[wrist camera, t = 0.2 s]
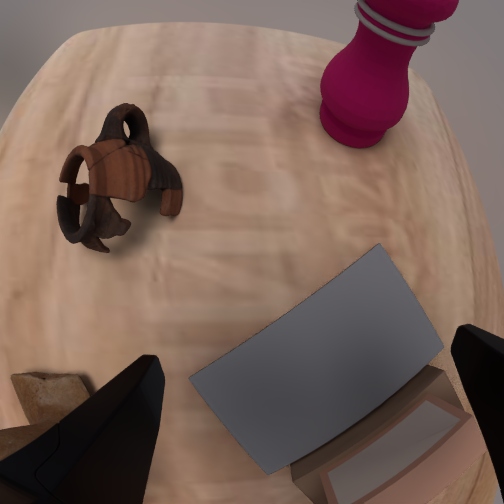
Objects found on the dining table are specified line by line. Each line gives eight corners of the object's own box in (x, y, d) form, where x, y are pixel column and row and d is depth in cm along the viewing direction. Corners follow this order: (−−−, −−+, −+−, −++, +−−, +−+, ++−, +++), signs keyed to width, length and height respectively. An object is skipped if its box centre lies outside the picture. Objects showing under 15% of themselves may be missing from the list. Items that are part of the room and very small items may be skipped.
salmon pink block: (445, 424, 17) (486, 449, 11) (343, 499, 16) (361, 544, 10) (428, 392, 18) (472, 415, 12) (319, 472, 17) (333, 519, 11)
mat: (440, 346, 21) (444, 346, 20) (267, 471, 20) (267, 475, 19) (377, 244, 23) (379, 243, 22) (190, 376, 22) (188, 378, 21)
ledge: (456, 421, 19) (473, 430, 16) (335, 510, 19) (341, 528, 16) (426, 364, 21) (444, 370, 18) (290, 463, 20) (292, 481, 17)
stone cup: (174, 490, 20) (111, 599, 5) (85, 496, 20) (9, 561, 5) (100, 344, 22) (-42, 368, 8) (22, 372, 22) (-88, 391, 7)
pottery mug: (188, 251, 24) (100, 260, 17) (122, 244, 29) (49, 249, 21) (196, 107, 23) (116, 76, 16) (128, 128, 27) (60, 114, 20)
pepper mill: (392, 107, 25) (476, -53, 5) (382, 165, 24) (508, -15, 4) (324, 81, 25) (359, -101, 6) (304, 136, 24) (344, -89, 5)
